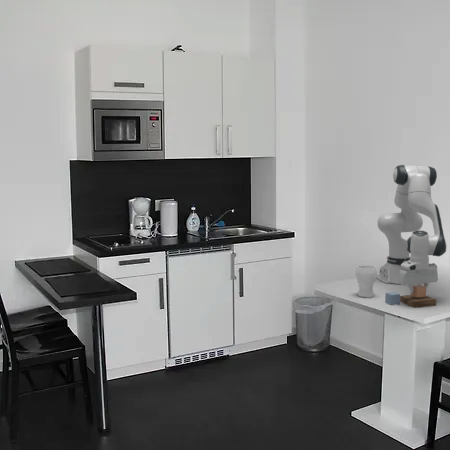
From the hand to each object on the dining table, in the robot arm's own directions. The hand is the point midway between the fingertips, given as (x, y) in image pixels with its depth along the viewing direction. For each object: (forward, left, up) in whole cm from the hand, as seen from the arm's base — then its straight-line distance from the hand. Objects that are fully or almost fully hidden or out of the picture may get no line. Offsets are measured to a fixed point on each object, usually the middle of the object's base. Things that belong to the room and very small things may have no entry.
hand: (418, 292), depth 301 cm
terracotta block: (0, 0, -2) cm, 2 cm away
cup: (-23, -15, -6) cm, 28 cm away
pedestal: (0, 0, -6) cm, 6 cm away
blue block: (-5, -11, -6) cm, 13 cm away
